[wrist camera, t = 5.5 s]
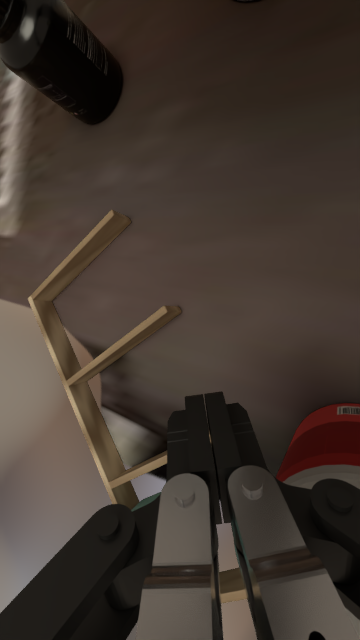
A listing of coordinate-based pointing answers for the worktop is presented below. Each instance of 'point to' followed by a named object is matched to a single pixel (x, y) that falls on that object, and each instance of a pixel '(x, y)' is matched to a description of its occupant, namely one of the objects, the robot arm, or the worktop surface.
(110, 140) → the worktop surface
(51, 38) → the supplement bottle
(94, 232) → the bay rack
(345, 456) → the canned food
